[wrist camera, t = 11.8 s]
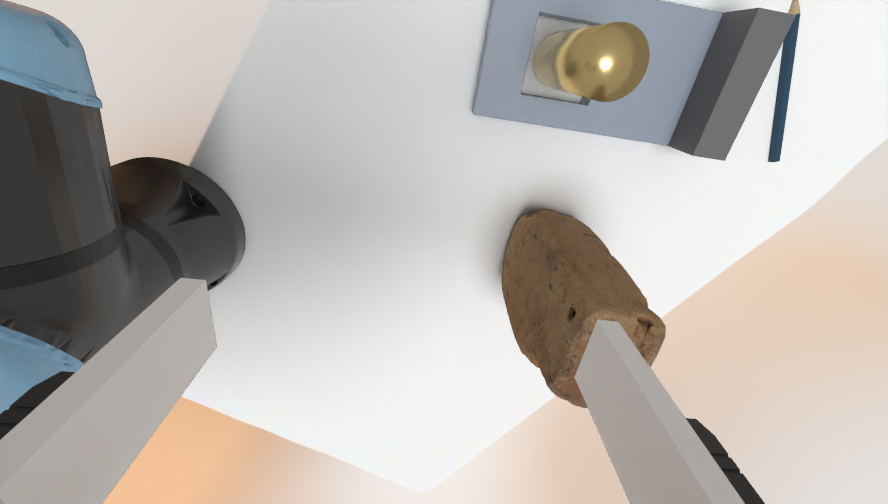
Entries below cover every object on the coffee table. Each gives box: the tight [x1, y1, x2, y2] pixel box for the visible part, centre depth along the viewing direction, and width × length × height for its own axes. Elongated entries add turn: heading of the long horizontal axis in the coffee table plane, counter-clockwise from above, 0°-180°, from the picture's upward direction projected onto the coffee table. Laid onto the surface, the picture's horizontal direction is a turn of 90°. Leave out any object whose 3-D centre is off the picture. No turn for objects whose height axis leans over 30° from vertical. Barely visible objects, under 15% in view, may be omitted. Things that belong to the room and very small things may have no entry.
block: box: [502, 210, 666, 408], centre depth 35 cm, size 11×8×20 cm
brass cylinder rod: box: [534, 22, 650, 102], centre depth 30 cm, size 5×5×12 cm
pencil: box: [769, 0, 800, 162], centre depth 36 cm, size 1×1×15 cm
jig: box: [472, 0, 796, 161], centre depth 33 cm, size 22×11×6 cm, turn 81°
